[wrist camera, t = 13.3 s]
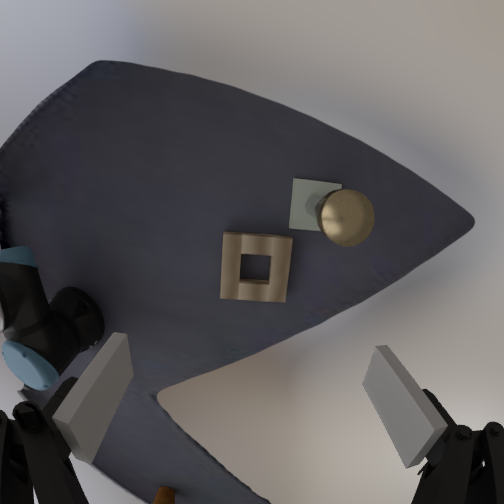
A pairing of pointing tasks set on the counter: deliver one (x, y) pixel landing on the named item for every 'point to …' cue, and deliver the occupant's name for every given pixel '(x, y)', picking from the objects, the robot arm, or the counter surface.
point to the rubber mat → (299, 197)
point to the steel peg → (342, 215)
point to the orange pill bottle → (165, 496)
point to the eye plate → (258, 245)
